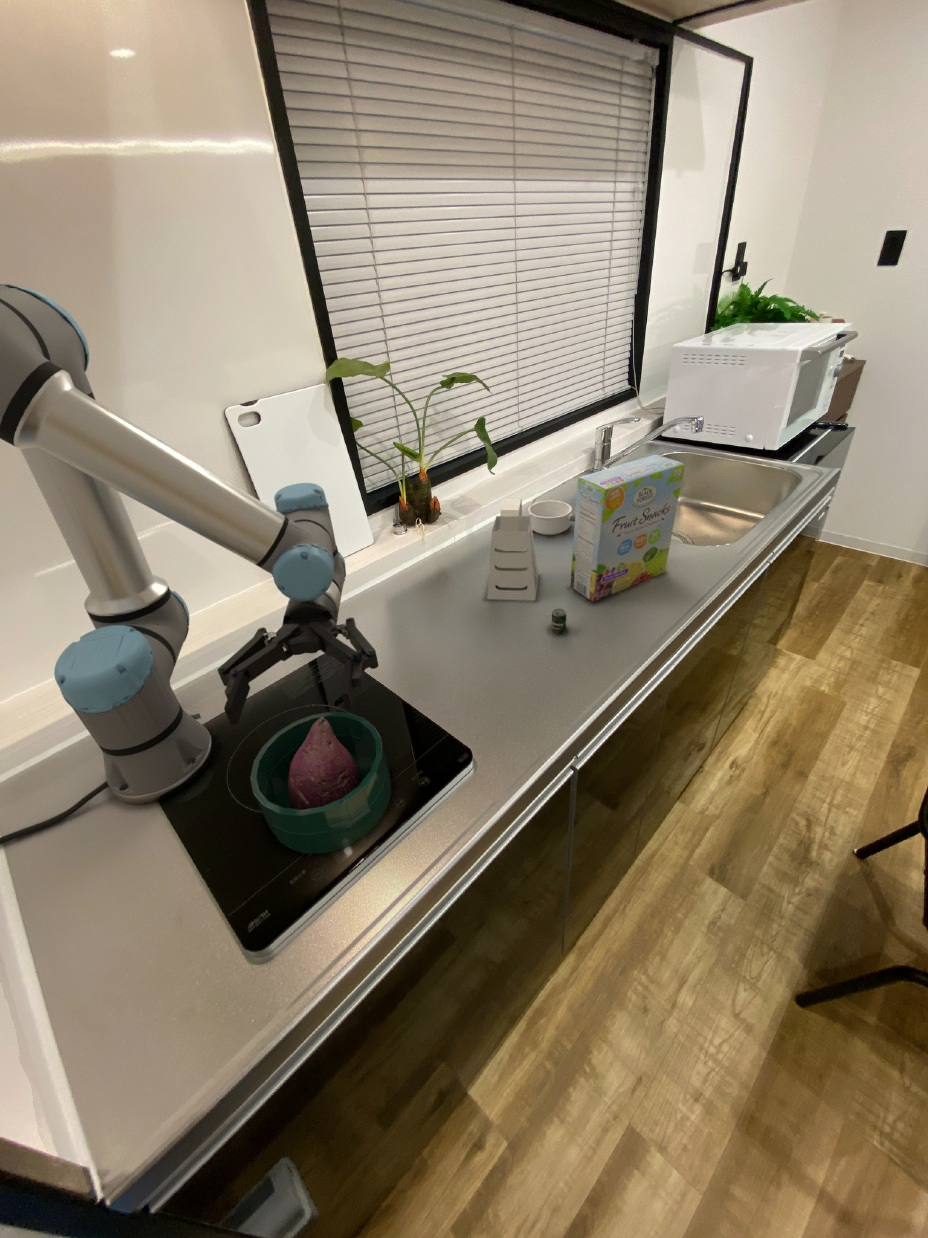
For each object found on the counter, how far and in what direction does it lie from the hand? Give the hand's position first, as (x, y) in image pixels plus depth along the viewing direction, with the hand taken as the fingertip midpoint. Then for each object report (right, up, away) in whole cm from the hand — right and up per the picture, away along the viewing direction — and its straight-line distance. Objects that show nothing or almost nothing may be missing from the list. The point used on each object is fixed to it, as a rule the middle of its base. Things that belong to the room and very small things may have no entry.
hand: (289, 709), depth 63 cm
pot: (+1, -15, +15) cm, 21 cm away
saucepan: (+47, +34, +80) cm, 99 cm away
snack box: (+56, +19, +57) cm, 82 cm away
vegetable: (+1, -15, +15) cm, 21 cm away
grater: (+32, +18, +58) cm, 69 cm away
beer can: (+40, +8, +44) cm, 59 cm away
